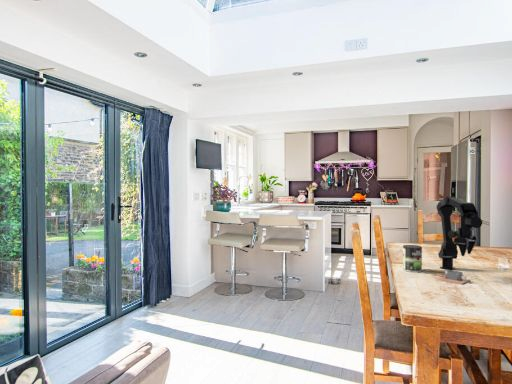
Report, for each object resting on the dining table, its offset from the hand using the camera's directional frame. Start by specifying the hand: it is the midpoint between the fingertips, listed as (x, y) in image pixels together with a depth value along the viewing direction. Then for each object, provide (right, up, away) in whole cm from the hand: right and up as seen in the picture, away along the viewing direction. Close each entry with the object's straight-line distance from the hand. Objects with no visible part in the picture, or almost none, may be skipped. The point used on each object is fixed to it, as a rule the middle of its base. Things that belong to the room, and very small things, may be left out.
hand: (466, 255), depth 197 cm
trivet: (-10, -12, -6) cm, 17 cm away
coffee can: (-22, -12, +17) cm, 30 cm away
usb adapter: (-10, -12, -6) cm, 17 cm away
